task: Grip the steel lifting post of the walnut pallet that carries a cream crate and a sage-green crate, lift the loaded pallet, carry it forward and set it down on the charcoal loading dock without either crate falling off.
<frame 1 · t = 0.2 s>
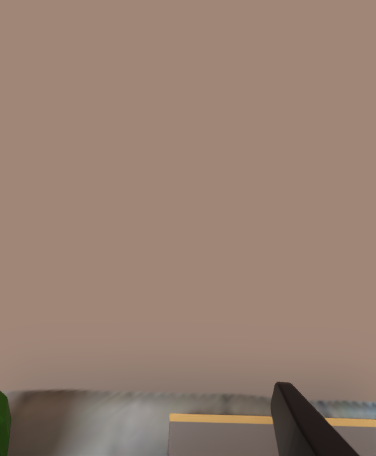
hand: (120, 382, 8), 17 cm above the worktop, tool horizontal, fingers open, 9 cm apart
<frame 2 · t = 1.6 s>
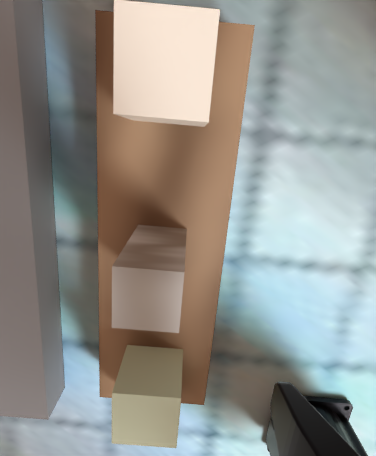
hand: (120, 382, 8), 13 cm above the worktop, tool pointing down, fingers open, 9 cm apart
sage crate: (153, 369, 21), point 3 cm above the worktop, touching pallet
cream crate: (171, 83, 15), point 3 cm above the worktop, touching pallet
pallet: (165, 234, 21), on the worktop, touching cream crate, sage crate
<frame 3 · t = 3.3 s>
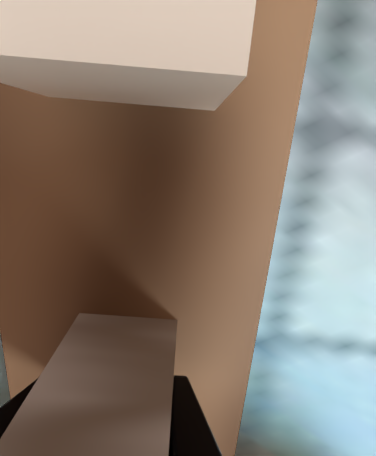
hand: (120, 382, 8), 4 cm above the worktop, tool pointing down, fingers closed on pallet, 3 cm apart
cream crate: (133, 4, 6), point 3 cm above the worktop, touching pallet
pallet: (142, 303, 12), on the worktop, touching cream crate, gripper, sage crate
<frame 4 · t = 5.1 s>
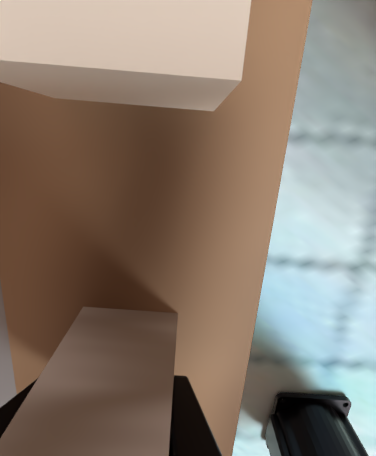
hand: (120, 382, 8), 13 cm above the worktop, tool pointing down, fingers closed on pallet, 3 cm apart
cream crate: (136, 10, 6), point 12 cm above the worktop, touching pallet
pallet: (144, 299, 12), point 9 cm above the worktop, touching cream crate, gripper, sage crate
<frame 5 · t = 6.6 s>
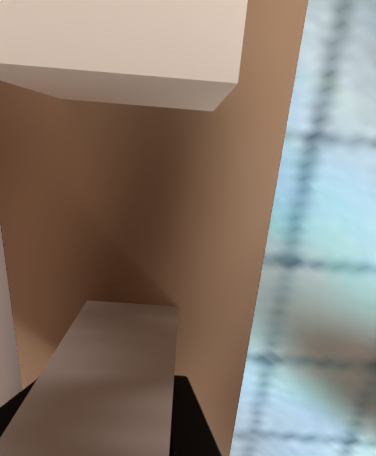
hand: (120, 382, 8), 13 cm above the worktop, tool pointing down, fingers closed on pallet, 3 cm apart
cream crate: (139, 15, 7), point 11 cm above the worktop, touching pallet
pallet: (145, 294, 13), point 8 cm above the worktop, touching cream crate, gripper, sage crate
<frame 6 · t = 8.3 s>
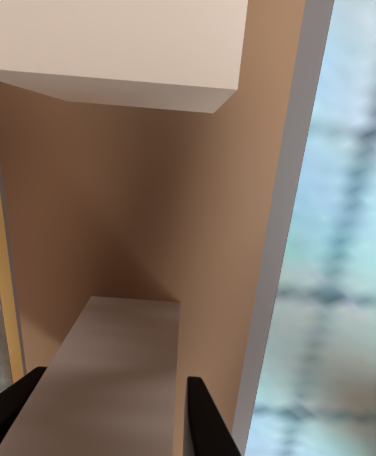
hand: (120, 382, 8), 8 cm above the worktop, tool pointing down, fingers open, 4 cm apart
dock: (152, 263, 16), on the worktop
cream crate: (142, 21, 7), point 6 cm above the worktop, touching pallet
pallet: (147, 291, 13), point 3 cm above the worktop, touching cream crate, dock, sage crate
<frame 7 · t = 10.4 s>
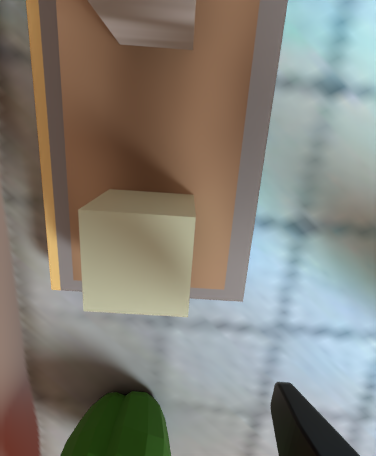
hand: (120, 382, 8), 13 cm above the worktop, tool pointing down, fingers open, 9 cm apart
bell pepper: (130, 408, 26), on the worktop
dock: (166, 49, 17), on the worktop
sage crate: (150, 231, 14), point 6 cm above the worktop, touching pallet
pallet: (164, 31, 14), point 3 cm above the worktop, touching cream crate, dock, sage crate
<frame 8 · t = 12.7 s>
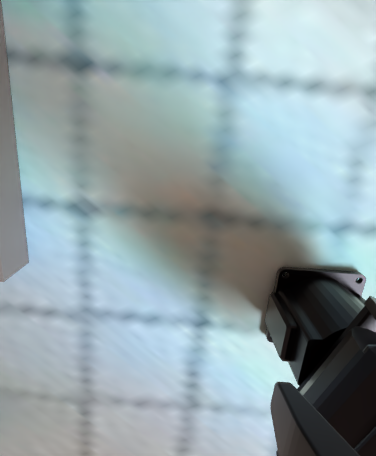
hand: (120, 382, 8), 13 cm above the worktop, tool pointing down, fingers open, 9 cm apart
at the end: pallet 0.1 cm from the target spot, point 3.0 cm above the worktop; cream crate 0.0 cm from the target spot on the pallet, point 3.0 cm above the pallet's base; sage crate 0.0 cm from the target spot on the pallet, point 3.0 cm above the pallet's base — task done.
